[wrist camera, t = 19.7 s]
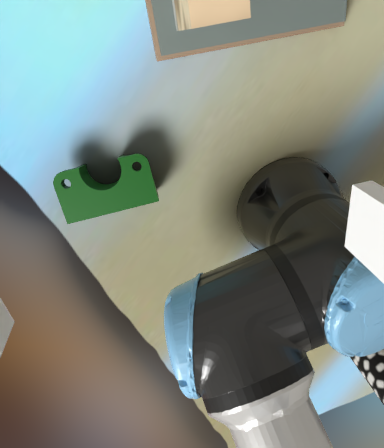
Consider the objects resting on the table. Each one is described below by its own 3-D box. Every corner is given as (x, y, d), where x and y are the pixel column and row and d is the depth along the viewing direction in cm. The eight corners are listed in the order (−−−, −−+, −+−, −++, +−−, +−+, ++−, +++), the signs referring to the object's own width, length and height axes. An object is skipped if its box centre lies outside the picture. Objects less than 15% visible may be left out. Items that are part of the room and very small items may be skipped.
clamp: (133, 151, 46) (159, 148, 38) (144, 191, 47) (171, 196, 40) (45, 174, 41) (54, 175, 33) (61, 218, 42) (74, 230, 35)
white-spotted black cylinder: (356, 300, 63) (441, 397, 46) (376, 316, 67) (462, 412, 50) (323, 327, 66) (393, 428, 49) (345, 341, 69) (417, 440, 52)
